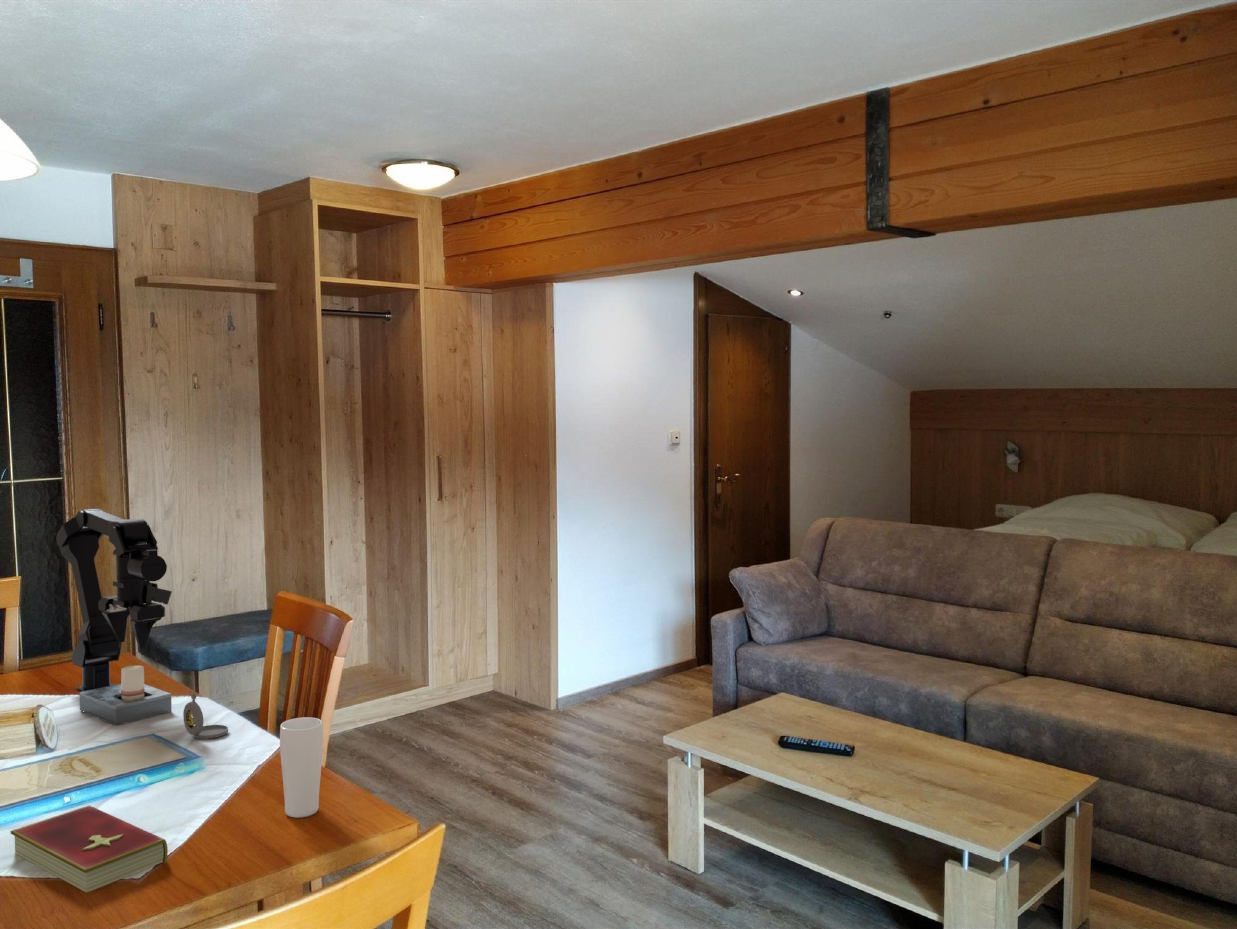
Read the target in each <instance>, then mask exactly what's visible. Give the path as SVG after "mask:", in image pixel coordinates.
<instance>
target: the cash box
mask: <svg viewBox="0 0 1237 929" xmlns="http://www.w3.org/2000/svg"><path fill="white" fill-rule="evenodd" d="M80 710H81V711H80ZM79 711H80V712H83V711H84V712H83V713H86V714H87V713H88V714H87V715H90V714H91V716H92V715H93V717H94V716H95V717H94V718H97V717H98V718H97V719H99V720H101V719H102V720H101V721H104V722H107V723H109V724H111V725H114V726H121V725H123V724H127V723H128V724H129V723H131V722H136V721H140V720H144V719H147V718H151V717H156V716H159V715H163V714H168V713H171V712H172V693H171V692H167V691H165V690H162V689H159V688H156V687H154V686H150V685H148V684H146V683H144V697H143V698H139V699H134V700H130V701H126V702H125V701H122V695H121V683H117V684H115V685H111V686H107V687H102V688H98V689H93V690H88V691H80V692H79Z"/></svg>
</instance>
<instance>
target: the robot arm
mask: <svg viewBox="0 0 1237 929" xmlns="http://www.w3.org/2000/svg"><path fill="white" fill-rule="evenodd" d="M104 535H105V536H108V542H109V543H111V544H112V546H113V547H114V548H115V549H113V551H112V554H113V555H114V556H115V557H116V559H115V562H116V563H115V564H116V580H113V581H112V586H113V587H116V595H115V594H114V595H109V596H102V591H101V586H100V581H99V577H98V571H97V567H96V566H97V565H96V560H95V558H96V556H97V553H98V551H99V549H100V541H101V538H102V537H103V536H104ZM55 539H56V545H57V546H58V547H59V550H60V553H61V556H62V557H63V558H64V559H65V560H66V561H67V562H68V563H69V564H70V565H71V569H72V574H73V579H74V583H75V588H76V594H77V599H78V603H79V608H80V612H81V613H80V614H81V617H82V618H81V619H82V627H81V628H80V631H79V633H78V636H77V640H78V642H77V645H76V647H75V649H74V650H73V652H72V654H71V662H72V665H74V666H77V667H80V668H81V669H82V670H81V671H82V672H81V674H82V676H81V677H82V681H81V682H82V684H81V685H77V686H76V688H75V689H76V690H79V691H81V692H84V691H88V690H93V689H98V688H102V687H107V686H111V685H116V684H114V683H112V682H111V669H110V668H111V662H115V661H117V662H118V661H119V660H120V655H121V650H122V644H123V643H124V642H126V641H125V640H126V635H127V626H128V625H127V623H128V618H129V616H130V619H129V624H130V626H131V629H132V632H133V635H134V637H135V640H136V644H137V646H138V648H139V649H140V650H142V649H145V648H146V646H147V644H148V640H149V637H150V633H151V631H152V629H153V626H154V624H156V623H157V622H158V621H161V620H162V619H163V618H164V617H165V616H166V607H165V606H164V605H169V602H170V598H171V596H172V594H173V593H172V592H173V591H172V590H168V589H163V588H159V587H158V586H159V585H158V583H155V582H157V581H159V580H161V579H162V578H163V577H164V576H165V575H166V573H167V568H168V564H167V563H166V560H165V559H164V558H163V557H162V556H160V555H158V554H159V553H158V552H159V551H158V549H159V548H158V541H157V538H156V537H155V535H154V533H153V532H152V529H151V526H150V525H149V524H148V522H147V521H146V520H145V519H139V518H135V519H134V518H133V519H123V518H122V517H119V516H116V515H114V514H111V513H108V512H106V511H104V510H103V509H100V508H87V509H81V510H80V511H79V510H78V512H77V513H76V514H75V515H74V517H72V518H70V519H68V520H67V521H66V522H64V523H63V524H62V525H61V527H60V529H59V530H58V531H57V533H56V538H55ZM162 604H163V605H162Z"/></svg>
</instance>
